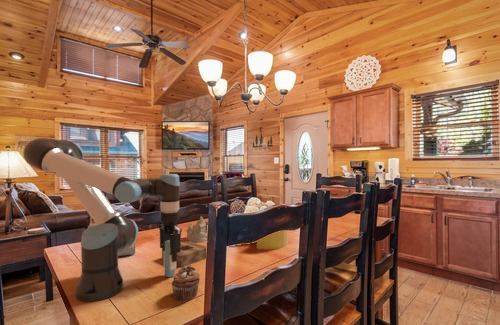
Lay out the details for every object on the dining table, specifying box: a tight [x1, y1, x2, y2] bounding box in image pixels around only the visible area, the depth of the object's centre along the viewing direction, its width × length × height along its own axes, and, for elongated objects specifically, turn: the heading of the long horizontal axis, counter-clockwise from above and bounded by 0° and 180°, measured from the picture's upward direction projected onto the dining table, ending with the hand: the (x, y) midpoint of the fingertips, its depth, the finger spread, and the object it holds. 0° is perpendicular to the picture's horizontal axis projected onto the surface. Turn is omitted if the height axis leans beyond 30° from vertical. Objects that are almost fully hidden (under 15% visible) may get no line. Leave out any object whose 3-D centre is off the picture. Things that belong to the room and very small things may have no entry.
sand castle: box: [185, 216, 208, 243], centre depth 164 cm, size 16×16×15 cm
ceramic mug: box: [118, 241, 136, 257], centre depth 136 cm, size 11×8×8 cm
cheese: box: [253, 230, 289, 250], centre depth 156 cm, size 26×26×15 cm
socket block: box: [161, 240, 207, 268], centre depth 130 cm, size 16×16×5 cm
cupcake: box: [170, 264, 201, 302], centre depth 94 cm, size 10×10×10 cm
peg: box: [164, 240, 176, 278], centre depth 110 cm, size 4×4×14 cm
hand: (169, 267), depth 110 cm, fingers closed on peg, 4 cm apart
